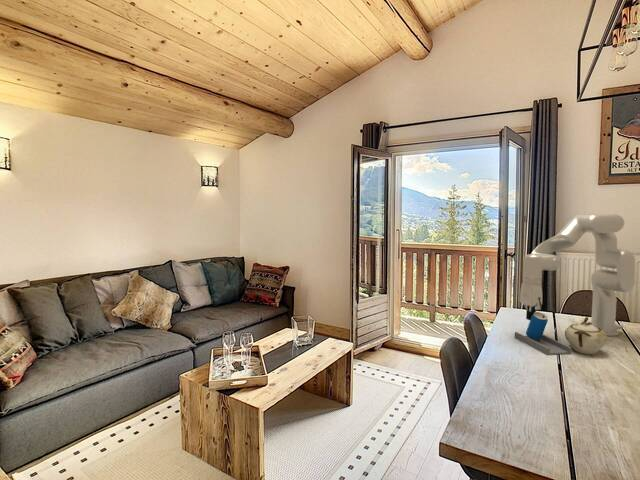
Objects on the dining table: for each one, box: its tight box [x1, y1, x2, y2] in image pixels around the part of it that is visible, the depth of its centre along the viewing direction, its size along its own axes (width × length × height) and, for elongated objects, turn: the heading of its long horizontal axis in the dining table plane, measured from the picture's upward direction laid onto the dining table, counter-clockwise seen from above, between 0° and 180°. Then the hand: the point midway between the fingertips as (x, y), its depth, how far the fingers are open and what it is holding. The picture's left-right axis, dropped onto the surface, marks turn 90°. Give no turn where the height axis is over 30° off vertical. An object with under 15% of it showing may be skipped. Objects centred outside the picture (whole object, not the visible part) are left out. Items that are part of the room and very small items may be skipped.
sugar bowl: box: [564, 316, 608, 355], centre depth 162 cm, size 20×15×15 cm
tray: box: [514, 331, 573, 356], centre depth 168 cm, size 11×22×3 cm, turn 7°
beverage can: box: [525, 311, 548, 340], centre depth 172 cm, size 6×6×12 cm
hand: (530, 319), depth 175 cm, fingers closed
